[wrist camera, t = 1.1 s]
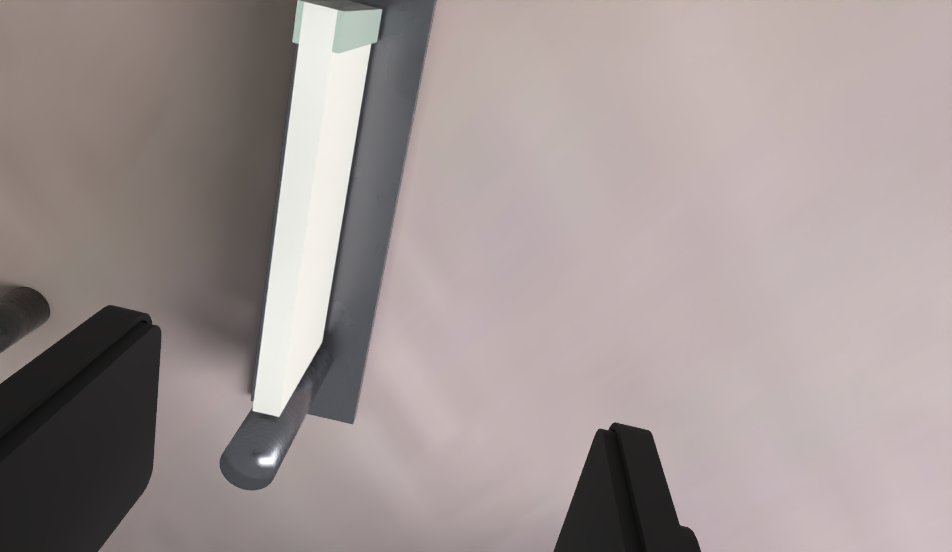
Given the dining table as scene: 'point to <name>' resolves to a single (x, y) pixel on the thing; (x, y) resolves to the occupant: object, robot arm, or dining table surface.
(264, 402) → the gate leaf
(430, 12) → the gate frame
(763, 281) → the dining table surface
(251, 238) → the dining table surface
